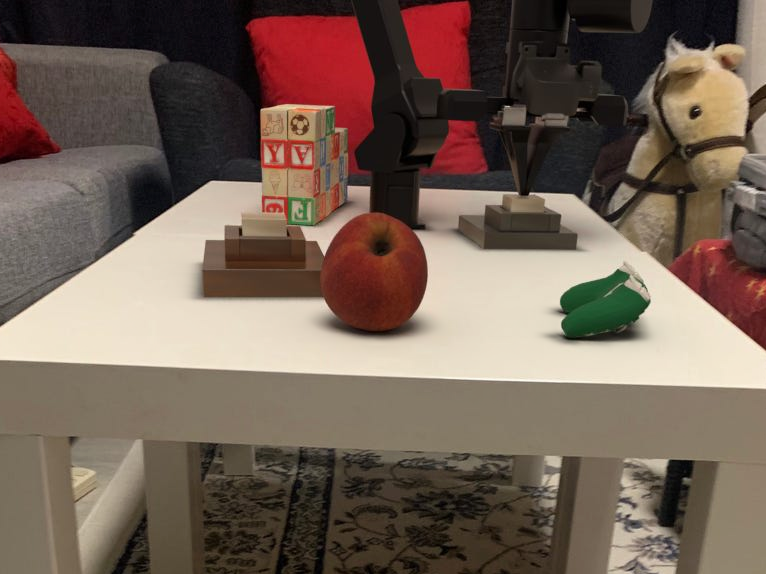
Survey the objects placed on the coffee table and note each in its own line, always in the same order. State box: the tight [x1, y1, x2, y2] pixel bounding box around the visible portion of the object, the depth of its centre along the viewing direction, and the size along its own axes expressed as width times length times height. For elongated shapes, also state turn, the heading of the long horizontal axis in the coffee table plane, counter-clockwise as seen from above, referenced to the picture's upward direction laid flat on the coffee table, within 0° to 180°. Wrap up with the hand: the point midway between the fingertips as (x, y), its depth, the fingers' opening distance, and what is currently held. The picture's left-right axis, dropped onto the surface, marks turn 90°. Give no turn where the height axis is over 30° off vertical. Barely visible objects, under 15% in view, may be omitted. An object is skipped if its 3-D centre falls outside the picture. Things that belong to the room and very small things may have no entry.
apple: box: [320, 212, 429, 332], centre depth 65 cm, size 7×8×8 cm
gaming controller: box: [559, 260, 652, 339], centre depth 68 cm, size 9×4×6 cm
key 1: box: [240, 211, 288, 236], centre depth 78 cm, size 4×4×2 cm
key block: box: [201, 224, 325, 298], centre depth 79 cm, size 13×10×4 cm
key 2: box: [501, 193, 546, 213], centre depth 99 cm, size 4×4×2 cm
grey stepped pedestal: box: [457, 204, 579, 251], centre depth 102 cm, size 12×10×4 cm
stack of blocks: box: [259, 103, 349, 226], centre depth 114 cm, size 21×6×12 cm, turn 172°
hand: (523, 195), depth 99 cm, fingers closed
